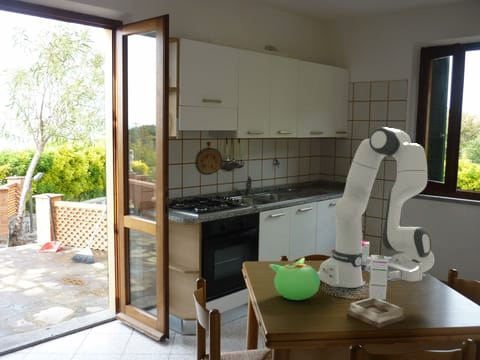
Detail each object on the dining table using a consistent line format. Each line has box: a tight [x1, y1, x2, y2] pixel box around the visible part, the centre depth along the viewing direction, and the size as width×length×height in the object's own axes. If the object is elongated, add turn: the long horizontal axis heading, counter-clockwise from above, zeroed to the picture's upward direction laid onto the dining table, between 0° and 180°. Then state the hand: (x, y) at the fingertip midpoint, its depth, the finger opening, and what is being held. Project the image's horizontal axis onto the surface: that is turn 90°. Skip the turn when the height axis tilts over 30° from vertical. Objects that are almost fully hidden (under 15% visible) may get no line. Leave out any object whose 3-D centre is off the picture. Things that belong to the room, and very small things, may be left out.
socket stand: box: [347, 297, 406, 329], centre depth 166 cm, size 14×14×4 cm
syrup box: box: [368, 254, 389, 301], centre depth 164 cm, size 6×6×14 cm
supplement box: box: [361, 240, 370, 267], centre depth 230 cm, size 6×6×12 cm
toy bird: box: [268, 257, 321, 301], centre depth 181 cm, size 18×17×15 cm
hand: (377, 271), depth 164 cm, fingers closed on syrup box, 8 cm apart
